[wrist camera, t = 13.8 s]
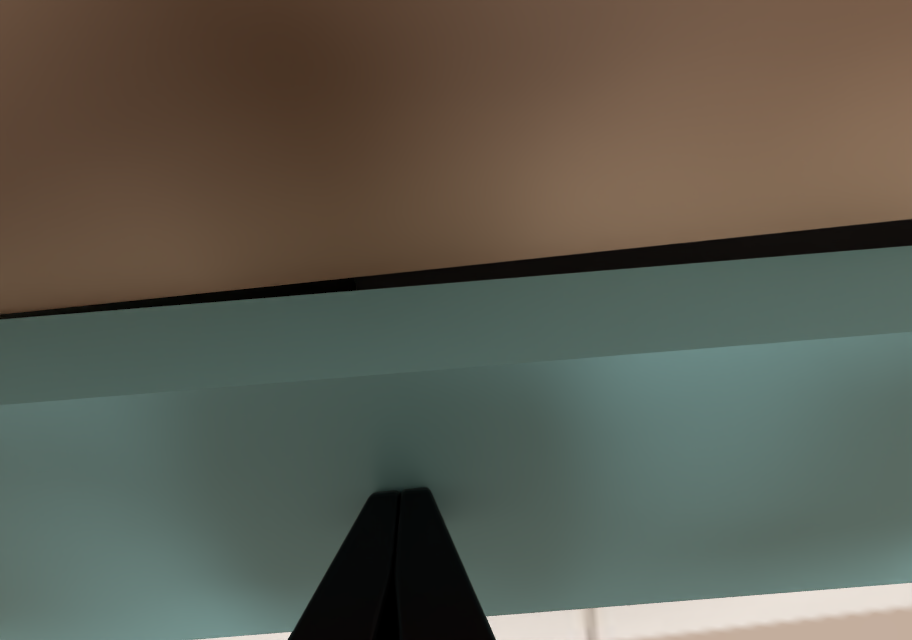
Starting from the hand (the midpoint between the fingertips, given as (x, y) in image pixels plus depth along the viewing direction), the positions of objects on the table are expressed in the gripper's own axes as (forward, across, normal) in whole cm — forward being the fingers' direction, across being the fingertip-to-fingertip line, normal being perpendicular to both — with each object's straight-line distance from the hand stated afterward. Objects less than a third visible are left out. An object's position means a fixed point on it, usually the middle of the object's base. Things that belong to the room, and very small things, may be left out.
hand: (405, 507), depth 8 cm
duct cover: (+2, +1, 0) cm, 2 cm away
